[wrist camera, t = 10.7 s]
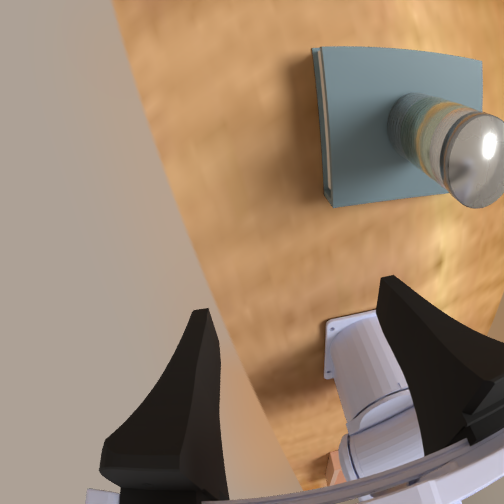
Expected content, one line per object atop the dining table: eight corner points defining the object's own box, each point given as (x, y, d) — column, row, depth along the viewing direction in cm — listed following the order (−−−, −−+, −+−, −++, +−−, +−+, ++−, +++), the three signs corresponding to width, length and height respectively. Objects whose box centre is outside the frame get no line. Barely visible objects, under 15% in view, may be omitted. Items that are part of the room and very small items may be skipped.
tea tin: (448, 155, 18) (513, 199, 12) (390, 166, 18) (447, 218, 13) (442, 88, 15) (516, 112, 10) (380, 96, 16) (445, 119, 10)
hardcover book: (457, 178, 22) (474, 190, 20) (322, 193, 22) (333, 207, 20) (461, 57, 16) (482, 61, 14) (310, 48, 16) (321, 46, 14)
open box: (394, 455, 58) (398, 469, 55) (325, 474, 58) (328, 489, 55) (413, 427, 49) (420, 444, 45) (330, 452, 49) (334, 470, 46)
